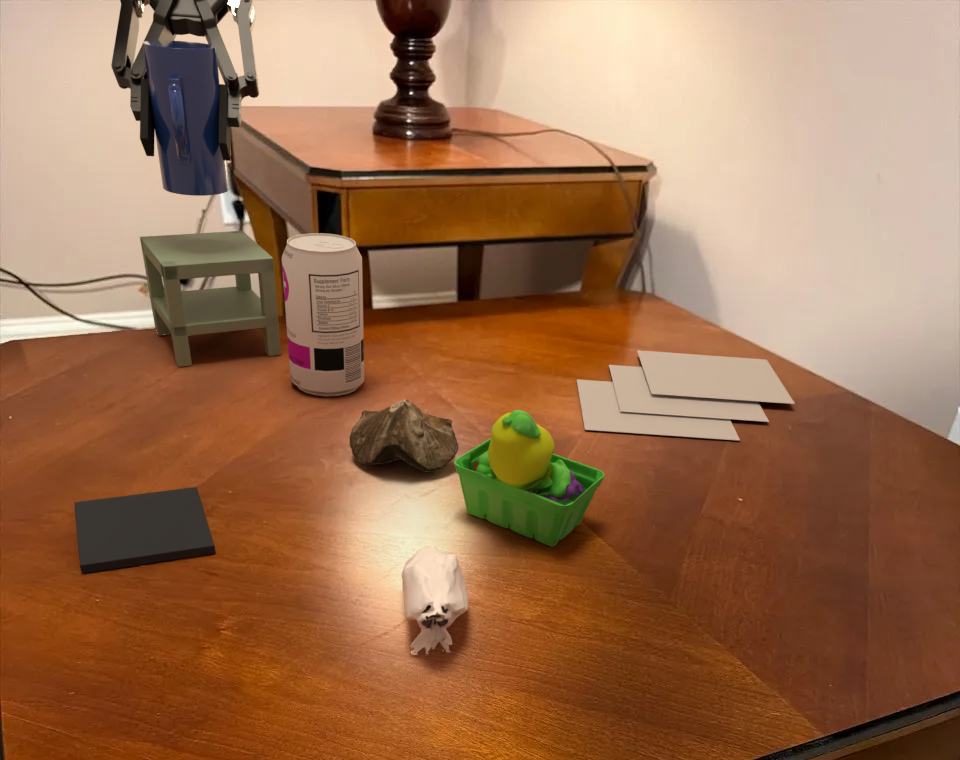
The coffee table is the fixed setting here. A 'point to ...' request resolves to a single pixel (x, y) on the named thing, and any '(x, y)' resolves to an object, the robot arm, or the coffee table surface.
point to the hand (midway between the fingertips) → (186, 149)
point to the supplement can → (324, 313)
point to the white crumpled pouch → (433, 595)
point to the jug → (186, 116)
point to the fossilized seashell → (404, 437)
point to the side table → (210, 306)
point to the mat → (141, 529)
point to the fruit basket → (526, 481)
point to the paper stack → (681, 395)
